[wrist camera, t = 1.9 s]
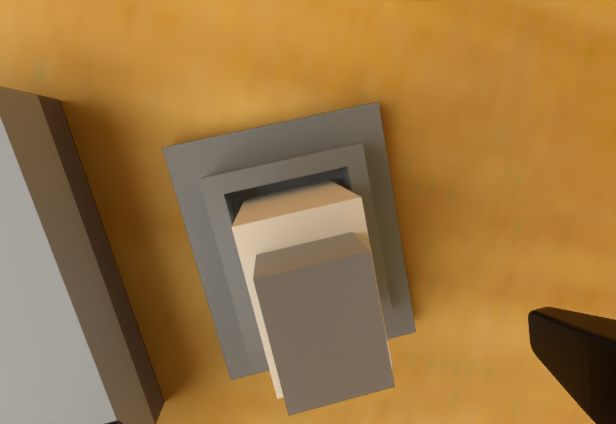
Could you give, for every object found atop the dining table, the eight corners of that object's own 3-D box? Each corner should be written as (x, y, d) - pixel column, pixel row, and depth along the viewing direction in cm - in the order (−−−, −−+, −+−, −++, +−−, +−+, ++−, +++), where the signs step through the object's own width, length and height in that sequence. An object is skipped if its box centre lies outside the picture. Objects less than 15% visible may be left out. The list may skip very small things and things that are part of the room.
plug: (351, 294, 18) (417, 412, 10) (274, 313, 17) (278, 451, 9) (328, 179, 16) (382, 208, 8) (245, 198, 16) (222, 246, 8)
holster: (408, 322, 19) (433, 353, 16) (232, 367, 19) (225, 409, 16) (372, 104, 17) (393, 95, 14) (168, 147, 16) (146, 147, 13)
